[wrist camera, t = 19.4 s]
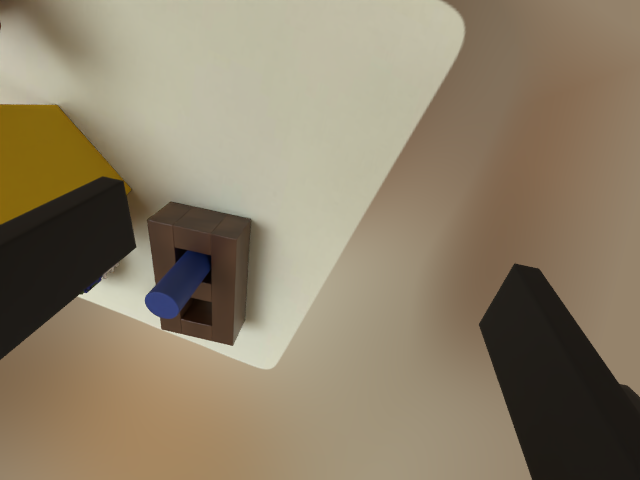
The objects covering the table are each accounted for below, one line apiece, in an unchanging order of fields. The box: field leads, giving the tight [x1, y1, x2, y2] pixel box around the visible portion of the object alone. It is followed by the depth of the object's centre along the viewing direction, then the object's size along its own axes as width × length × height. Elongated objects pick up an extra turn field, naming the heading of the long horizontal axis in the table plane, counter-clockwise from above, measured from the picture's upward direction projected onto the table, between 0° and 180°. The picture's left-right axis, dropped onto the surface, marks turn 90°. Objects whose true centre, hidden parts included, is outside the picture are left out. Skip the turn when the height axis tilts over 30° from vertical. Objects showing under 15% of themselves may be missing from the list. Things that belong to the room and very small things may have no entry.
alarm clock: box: [0, 104, 132, 225], centre depth 32 cm, size 15×8×18 cm, turn 31°
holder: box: [147, 202, 251, 346], centre depth 43 cm, size 10×18×5 cm, turn 170°
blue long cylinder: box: [145, 250, 211, 319], centre depth 38 cm, size 4×4×12 cm
